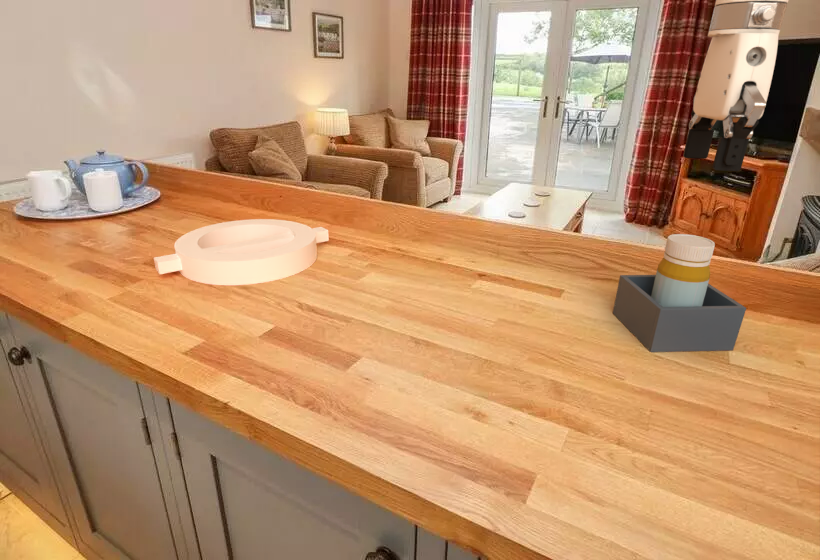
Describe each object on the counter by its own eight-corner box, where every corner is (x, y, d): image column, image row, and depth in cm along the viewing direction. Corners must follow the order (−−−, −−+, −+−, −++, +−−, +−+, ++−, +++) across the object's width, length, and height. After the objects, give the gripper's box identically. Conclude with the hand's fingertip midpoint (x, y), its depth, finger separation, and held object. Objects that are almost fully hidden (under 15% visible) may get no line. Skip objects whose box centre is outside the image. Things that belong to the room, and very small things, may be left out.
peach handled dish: (332, 241, 115) (331, 222, 113) (289, 290, 90) (287, 265, 88) (220, 235, 119) (217, 216, 117) (148, 280, 93) (143, 256, 91)
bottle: (666, 344, 74) (690, 249, 68) (635, 322, 80) (654, 234, 74) (704, 338, 75) (730, 245, 69) (670, 318, 82) (692, 231, 76)
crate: (684, 311, 84) (694, 274, 81) (733, 350, 72) (746, 307, 69) (612, 313, 83) (619, 274, 80) (650, 352, 71) (660, 309, 69)
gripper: (823, 15, 52) (773, 177, 59) (743, 29, 68) (710, 155, 74) (748, 15, 53) (707, 174, 59) (686, 28, 69) (659, 153, 75)
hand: (709, 163), depth 67 cm, fingers open, 9 cm apart
